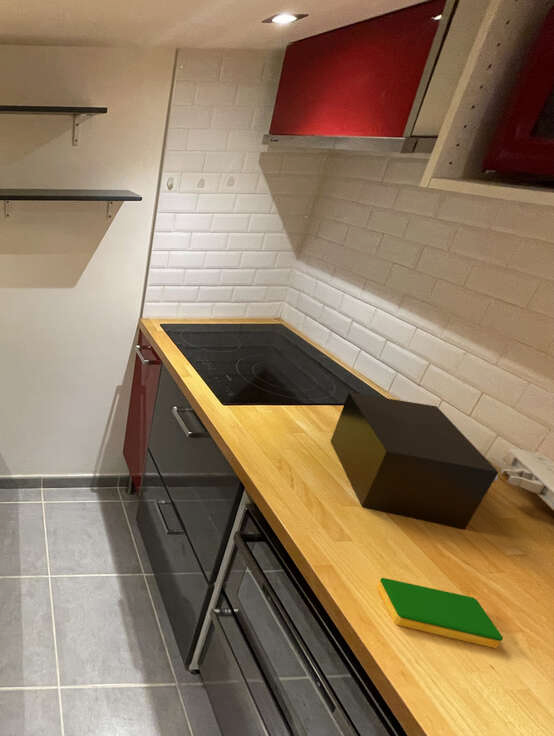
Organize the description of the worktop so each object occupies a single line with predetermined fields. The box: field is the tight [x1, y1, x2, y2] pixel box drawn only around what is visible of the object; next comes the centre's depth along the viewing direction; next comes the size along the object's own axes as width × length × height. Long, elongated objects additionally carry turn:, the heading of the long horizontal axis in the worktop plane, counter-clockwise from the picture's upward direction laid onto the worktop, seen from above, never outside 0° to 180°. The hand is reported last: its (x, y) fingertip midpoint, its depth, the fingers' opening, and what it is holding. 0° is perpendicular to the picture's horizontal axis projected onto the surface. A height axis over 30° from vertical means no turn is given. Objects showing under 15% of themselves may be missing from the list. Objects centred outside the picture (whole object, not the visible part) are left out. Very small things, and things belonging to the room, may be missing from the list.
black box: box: [330, 391, 499, 531], centre depth 100 cm, size 20×24×15 cm
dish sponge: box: [376, 577, 504, 649], centre depth 73 cm, size 7×14×2 cm, turn 75°
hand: (505, 475), depth 95 cm, fingers closed
